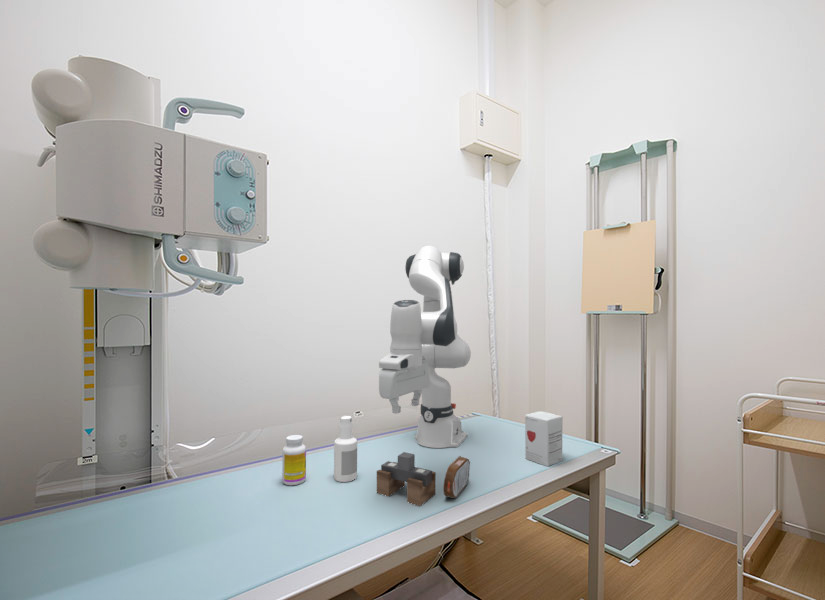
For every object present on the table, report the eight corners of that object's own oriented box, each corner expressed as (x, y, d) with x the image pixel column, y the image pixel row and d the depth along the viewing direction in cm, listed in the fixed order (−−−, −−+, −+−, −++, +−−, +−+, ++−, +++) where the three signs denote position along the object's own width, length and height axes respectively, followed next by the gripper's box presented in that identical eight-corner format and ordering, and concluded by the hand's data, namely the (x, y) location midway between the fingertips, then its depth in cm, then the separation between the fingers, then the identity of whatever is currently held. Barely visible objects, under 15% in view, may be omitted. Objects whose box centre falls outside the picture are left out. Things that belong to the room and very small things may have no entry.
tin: (461, 480, 121) (461, 451, 121) (471, 482, 120) (471, 453, 120) (442, 502, 107) (442, 469, 108) (453, 504, 106) (453, 471, 106)
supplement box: (524, 458, 138) (524, 414, 138) (539, 453, 144) (539, 410, 144) (547, 467, 131) (547, 420, 131) (563, 460, 137) (563, 415, 137)
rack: (393, 482, 119) (393, 461, 119) (435, 494, 112) (435, 472, 112) (376, 493, 112) (376, 471, 112) (420, 506, 105) (420, 482, 105)
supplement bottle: (308, 483, 119) (308, 438, 119) (285, 488, 115) (285, 442, 116) (302, 474, 124) (302, 432, 125) (279, 479, 121) (280, 435, 121)
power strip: (387, 471, 117) (387, 448, 117) (431, 481, 110) (431, 457, 110) (381, 476, 114) (381, 452, 114) (426, 486, 107) (426, 461, 107)
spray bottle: (352, 483, 118) (352, 421, 119) (330, 481, 120) (330, 419, 120) (360, 474, 125) (360, 415, 125) (339, 472, 126) (339, 413, 127)
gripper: (416, 354, 123) (416, 400, 123) (374, 362, 106) (374, 415, 106) (434, 355, 120) (434, 402, 120) (394, 364, 103) (394, 419, 103)
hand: (406, 409), depth 113 cm, fingers open, 8 cm apart
